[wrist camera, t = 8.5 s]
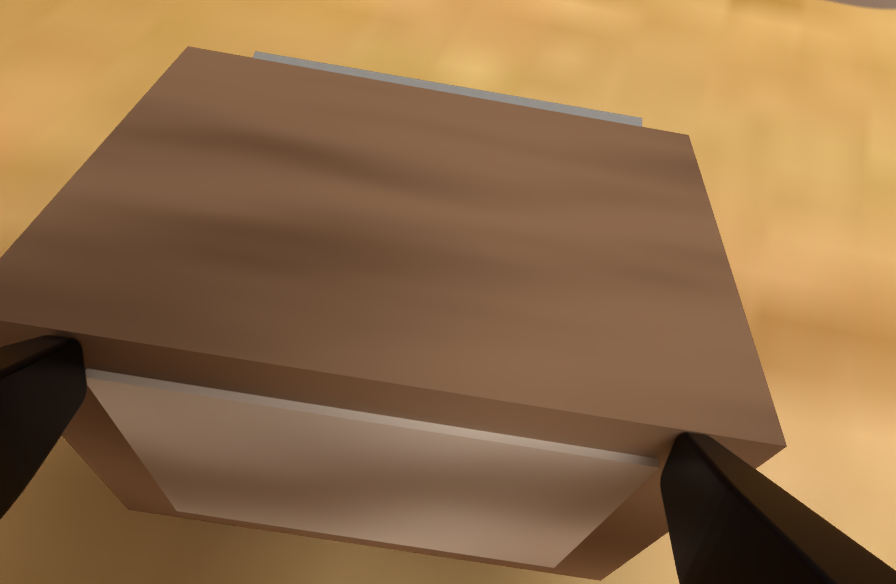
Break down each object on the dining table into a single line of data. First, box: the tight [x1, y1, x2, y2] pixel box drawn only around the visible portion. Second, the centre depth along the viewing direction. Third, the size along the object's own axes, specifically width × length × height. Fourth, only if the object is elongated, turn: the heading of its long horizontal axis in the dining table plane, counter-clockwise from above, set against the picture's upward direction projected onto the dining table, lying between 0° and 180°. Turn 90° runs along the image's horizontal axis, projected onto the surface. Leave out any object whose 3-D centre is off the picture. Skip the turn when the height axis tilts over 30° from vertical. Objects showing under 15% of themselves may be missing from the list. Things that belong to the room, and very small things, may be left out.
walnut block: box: [0, 47, 787, 581], centre depth 13 cm, size 8×12×8 cm
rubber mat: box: [253, 51, 642, 127], centre depth 21 cm, size 9×16×1 cm, turn 82°
